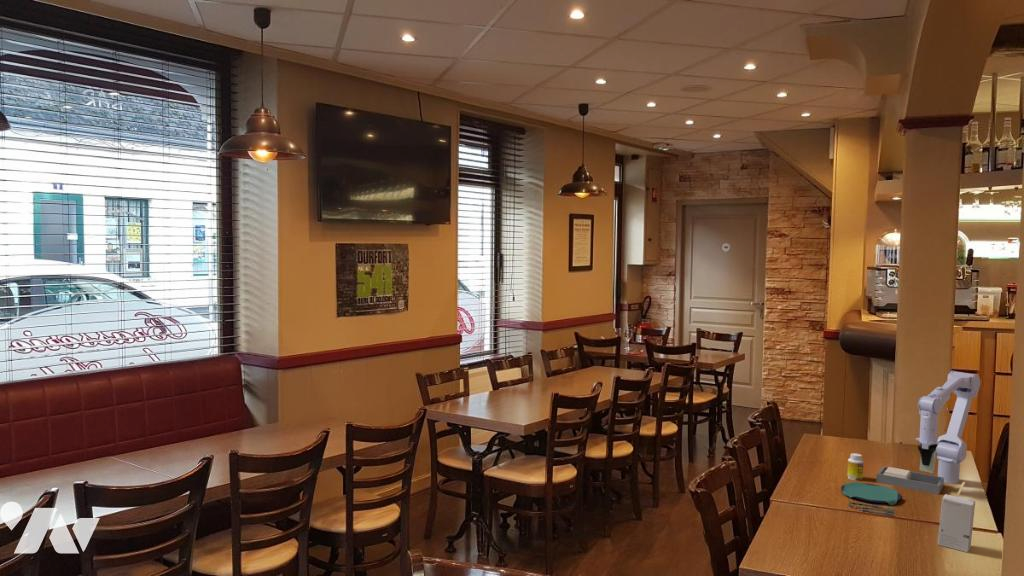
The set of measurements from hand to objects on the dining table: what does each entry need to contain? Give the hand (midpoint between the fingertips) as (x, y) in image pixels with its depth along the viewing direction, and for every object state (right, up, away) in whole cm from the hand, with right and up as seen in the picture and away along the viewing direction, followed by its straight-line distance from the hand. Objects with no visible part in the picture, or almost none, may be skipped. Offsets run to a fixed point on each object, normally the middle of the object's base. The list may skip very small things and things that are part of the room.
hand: (926, 463), depth 271 cm
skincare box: (-22, -12, -53) cm, 59 cm away
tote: (-4, -10, +4) cm, 11 cm away
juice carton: (0, -3, 0) cm, 3 cm away
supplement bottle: (-23, -9, +10) cm, 26 cm away
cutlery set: (-28, -11, -12) cm, 32 cm away
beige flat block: (-8, -9, +7) cm, 13 cm away
